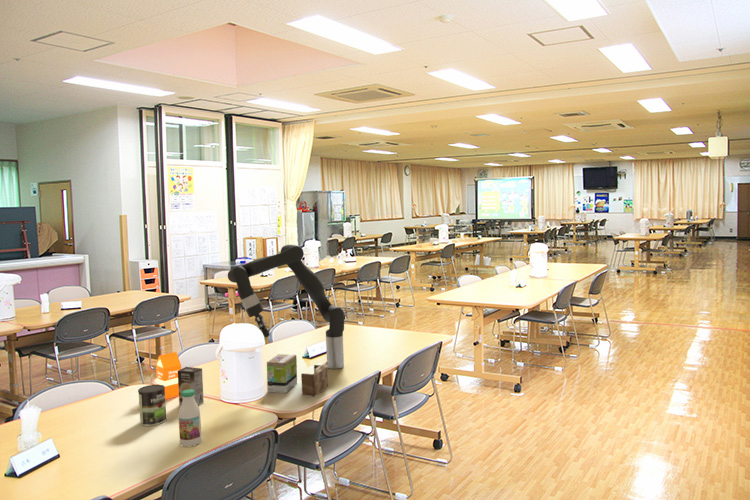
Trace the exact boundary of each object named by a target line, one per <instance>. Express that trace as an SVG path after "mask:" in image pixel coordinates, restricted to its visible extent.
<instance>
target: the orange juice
mask: <svg viewBox="0 0 750 500" xmlns="http://www.w3.org/2000/svg"><path fill="white" fill-rule="evenodd" d="M180 369H182V364H181V361H180V358H179V356H178V353H177V351H174V352H170V353H164V354H160V355H159V356H158V358H157V362H156V366H155V370H156V371H155V372H156V385H164V386H165V400H168V399H171V398H173V397H174V398H175V397H179V388H178V370H180Z"/></svg>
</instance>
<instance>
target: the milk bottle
mask: <svg viewBox="0 0 750 500" xmlns="http://www.w3.org/2000/svg"><path fill="white" fill-rule="evenodd" d="M194 396H195V391H194V390H193V389H188V390H184V391H182V398H183V401H182V405H180V407H179V411H178V428H179V429H178V430H179V444H180V446H181V445H182V446H181V447H183V446H192V447H194V445H195V446H198V445H200V444H201V443H202V441H203V438H202V419H201V418H202V417H201V411H200V406H198V405H197V403H196V401H195V398H194ZM200 442H201V443H200ZM199 443H200V444H199ZM197 444H198V445H197Z"/></svg>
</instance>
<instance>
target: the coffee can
mask: <svg viewBox="0 0 750 500" xmlns="http://www.w3.org/2000/svg"><path fill="white" fill-rule="evenodd" d="M137 393H138V405H139V420H140V421H139V422H140V425H141V426H143V427H154V426H158V424H159V425H161V424H163V422H164V423H165V422H167V409H166V407H167V406H166V405H167V404H166V399H165V386H164V385H157V384H150V385H145V386H141V387H140V388H139V389H137Z"/></svg>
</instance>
